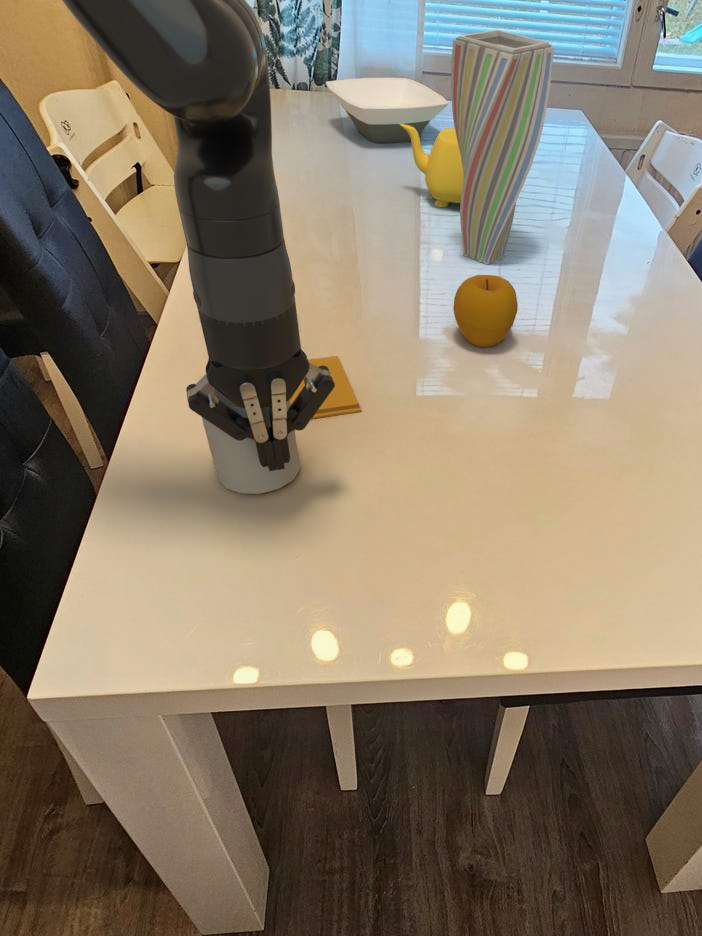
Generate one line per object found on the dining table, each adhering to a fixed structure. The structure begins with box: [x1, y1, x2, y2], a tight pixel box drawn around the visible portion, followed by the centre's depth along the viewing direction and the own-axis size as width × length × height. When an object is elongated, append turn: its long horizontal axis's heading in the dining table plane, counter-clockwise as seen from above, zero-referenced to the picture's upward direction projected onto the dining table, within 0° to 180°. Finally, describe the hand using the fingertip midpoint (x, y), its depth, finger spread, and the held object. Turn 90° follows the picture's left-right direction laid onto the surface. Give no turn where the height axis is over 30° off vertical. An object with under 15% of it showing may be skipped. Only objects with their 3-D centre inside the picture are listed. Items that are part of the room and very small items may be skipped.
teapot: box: [400, 124, 463, 208], centre depth 128 cm, size 14×20×13 cm
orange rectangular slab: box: [290, 355, 362, 420], centre depth 83 cm, size 16×12×1 cm
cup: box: [196, 373, 301, 495], centre depth 70 cm, size 8×8×10 cm
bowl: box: [325, 77, 449, 144], centre depth 153 cm, size 22×23×8 cm
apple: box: [452, 274, 519, 348], centre depth 93 cm, size 8×8×9 cm
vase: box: [450, 29, 555, 266], centre depth 105 cm, size 14×14×30 cm
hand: (275, 465), depth 68 cm, fingers closed
